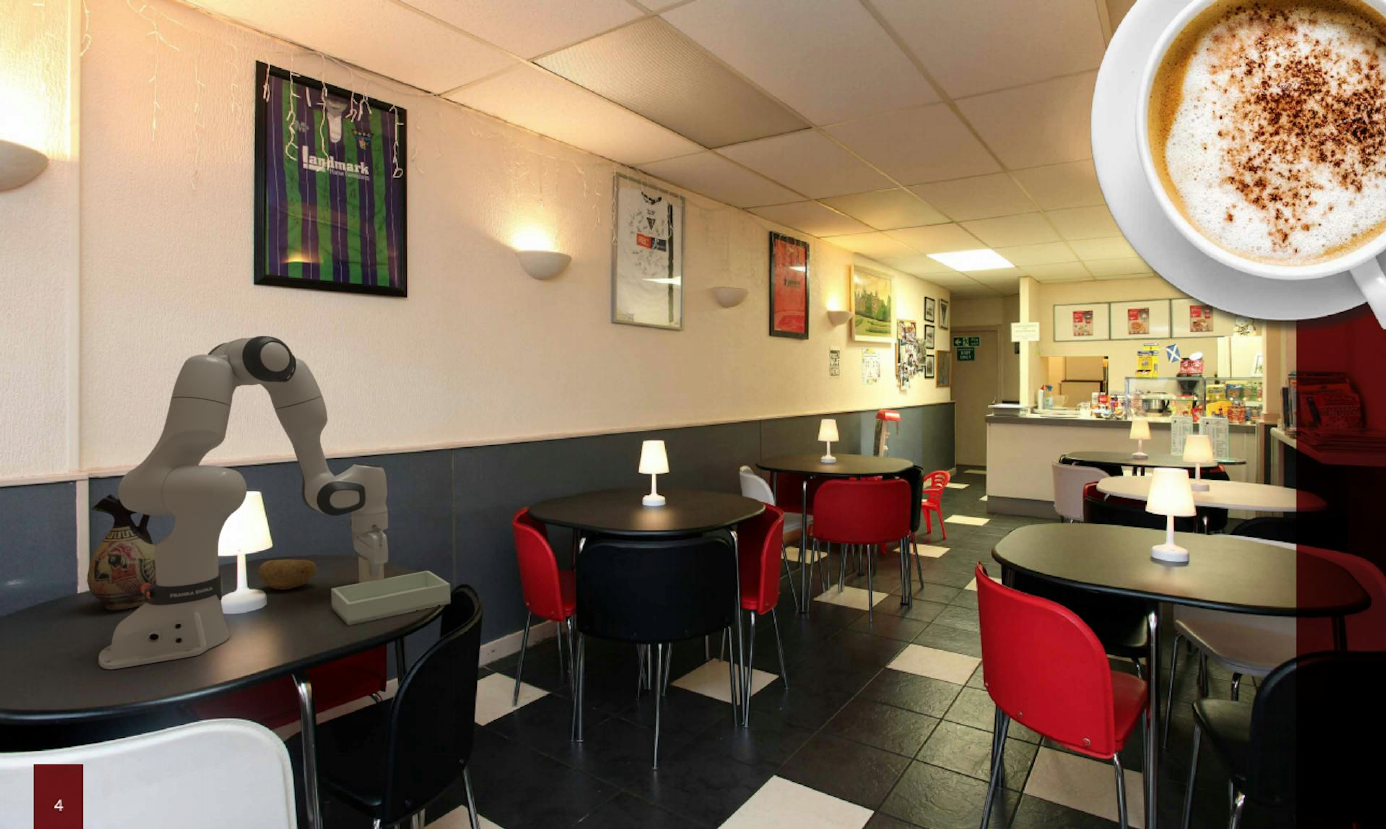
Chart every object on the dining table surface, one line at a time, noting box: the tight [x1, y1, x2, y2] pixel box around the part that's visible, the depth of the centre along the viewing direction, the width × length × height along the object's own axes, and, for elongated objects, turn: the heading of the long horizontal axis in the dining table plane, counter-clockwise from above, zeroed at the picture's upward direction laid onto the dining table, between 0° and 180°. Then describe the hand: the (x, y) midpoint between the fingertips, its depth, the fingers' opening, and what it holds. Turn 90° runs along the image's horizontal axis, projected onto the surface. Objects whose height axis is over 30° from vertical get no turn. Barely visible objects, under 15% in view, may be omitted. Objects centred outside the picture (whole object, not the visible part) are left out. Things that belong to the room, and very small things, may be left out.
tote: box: [330, 570, 452, 627], centre depth 176 cm, size 24×16×5 cm, turn 130°
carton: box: [358, 555, 385, 583], centre depth 189 cm, size 5×5×7 cm
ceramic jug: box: [86, 494, 157, 611], centre depth 177 cm, size 17×15×30 cm
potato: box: [257, 558, 317, 591], centre depth 190 cm, size 10×14×8 cm
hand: (371, 573), depth 189 cm, fingers closed on carton, 5 cm apart
